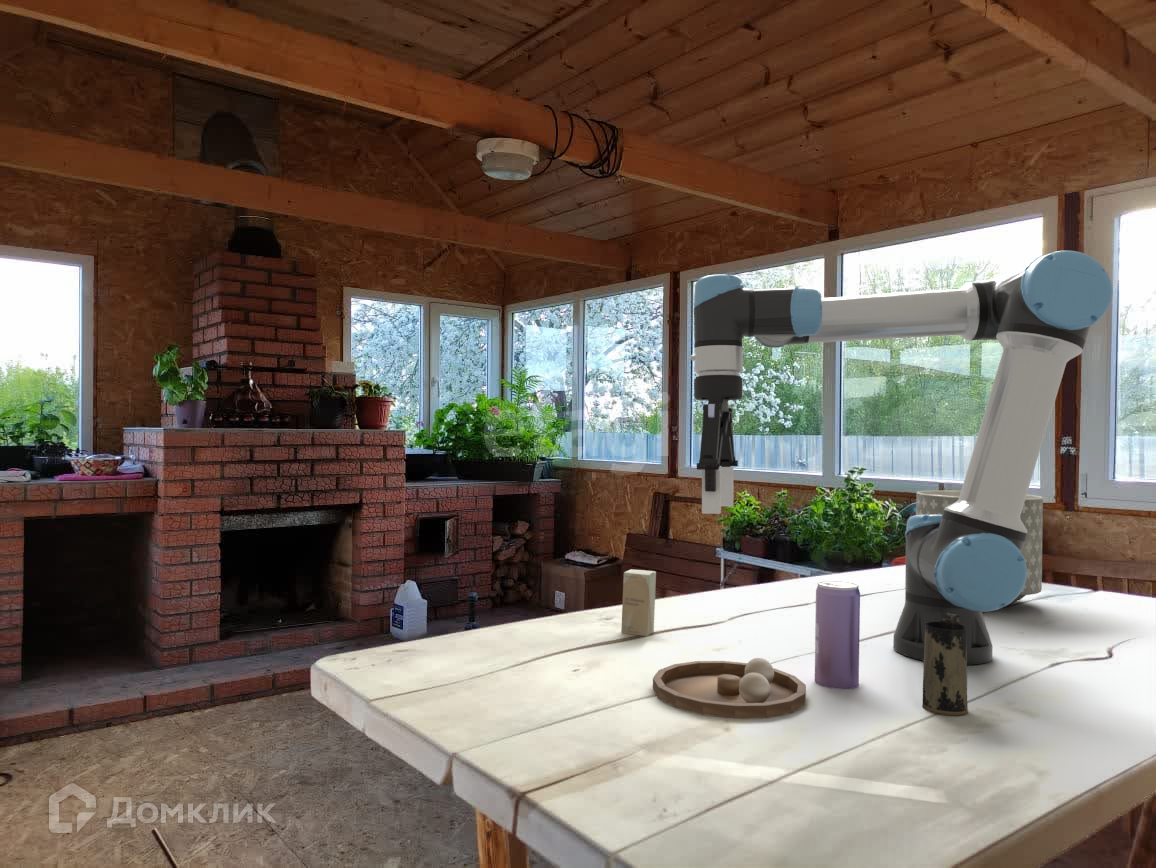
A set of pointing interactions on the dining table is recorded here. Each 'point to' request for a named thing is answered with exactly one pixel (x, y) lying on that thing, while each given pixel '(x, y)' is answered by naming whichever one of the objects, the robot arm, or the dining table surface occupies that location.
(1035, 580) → the planter
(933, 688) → the mug
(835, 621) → the beverage can
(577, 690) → the dining table surface
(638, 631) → the box
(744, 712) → the tray
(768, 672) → the bead
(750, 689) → the bead
